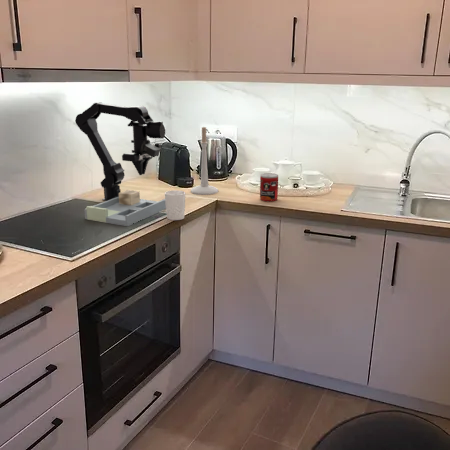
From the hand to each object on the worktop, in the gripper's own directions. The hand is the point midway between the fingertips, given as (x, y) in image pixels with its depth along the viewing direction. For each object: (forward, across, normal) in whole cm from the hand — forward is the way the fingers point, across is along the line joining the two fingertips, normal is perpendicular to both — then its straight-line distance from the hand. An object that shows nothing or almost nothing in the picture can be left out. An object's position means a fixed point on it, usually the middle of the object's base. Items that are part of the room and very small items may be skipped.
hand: (142, 174), depth 215 cm
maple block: (+10, -10, 0) cm, 14 cm away
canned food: (+12, +28, -46) cm, 56 cm away
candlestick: (+12, +28, -14) cm, 34 cm away
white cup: (+12, -14, -24) cm, 31 cm away
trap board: (+12, -16, -4) cm, 21 cm away
